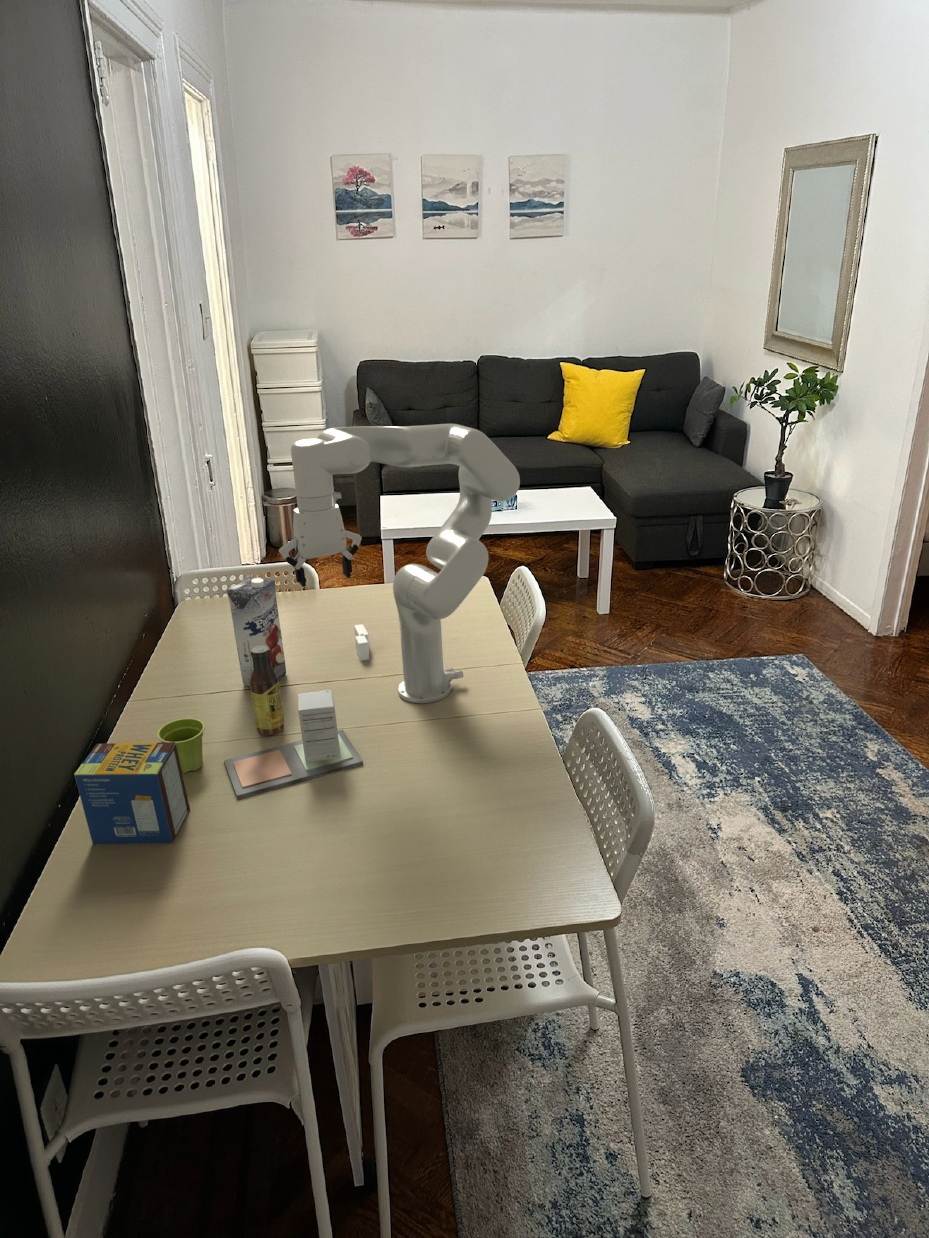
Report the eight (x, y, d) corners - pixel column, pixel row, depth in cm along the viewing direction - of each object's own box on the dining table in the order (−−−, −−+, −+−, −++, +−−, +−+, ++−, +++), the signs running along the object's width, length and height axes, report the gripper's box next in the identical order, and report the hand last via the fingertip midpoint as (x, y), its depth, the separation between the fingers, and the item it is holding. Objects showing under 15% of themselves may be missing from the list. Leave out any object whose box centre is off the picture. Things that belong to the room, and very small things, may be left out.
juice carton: (237, 687, 216) (220, 585, 205) (262, 668, 225) (246, 569, 214) (268, 692, 213) (252, 589, 202) (291, 673, 222) (278, 573, 211)
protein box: (113, 810, 172) (96, 742, 166) (191, 809, 172) (177, 741, 165) (90, 845, 163) (72, 774, 157) (173, 844, 162) (157, 773, 156)
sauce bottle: (278, 738, 194) (266, 657, 186) (252, 736, 195) (239, 655, 187) (289, 722, 200) (278, 643, 192) (263, 720, 201) (251, 642, 193)
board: (343, 732, 195) (342, 728, 195) (363, 764, 183) (362, 759, 183) (224, 763, 186) (223, 759, 185) (237, 798, 174) (236, 794, 174)
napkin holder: (354, 638, 240) (352, 619, 238) (392, 643, 237) (390, 623, 234) (328, 662, 228) (325, 642, 225) (367, 668, 224) (365, 648, 222)
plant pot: (219, 756, 188) (213, 721, 185) (193, 781, 180) (186, 745, 177) (182, 750, 191) (175, 715, 188) (155, 774, 183) (147, 738, 180)
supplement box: (304, 744, 189) (297, 692, 184) (339, 740, 190) (333, 688, 185) (304, 763, 183) (297, 710, 177) (340, 758, 184) (334, 705, 179)
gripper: (351, 490, 185) (358, 567, 192) (269, 503, 178) (280, 582, 186) (362, 499, 178) (369, 578, 186) (278, 513, 172) (288, 594, 179)
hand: (325, 580), depth 186 cm, fingers open, 9 cm apart
